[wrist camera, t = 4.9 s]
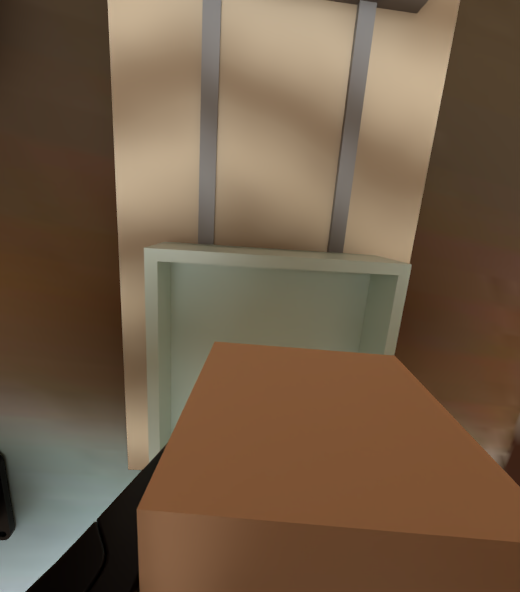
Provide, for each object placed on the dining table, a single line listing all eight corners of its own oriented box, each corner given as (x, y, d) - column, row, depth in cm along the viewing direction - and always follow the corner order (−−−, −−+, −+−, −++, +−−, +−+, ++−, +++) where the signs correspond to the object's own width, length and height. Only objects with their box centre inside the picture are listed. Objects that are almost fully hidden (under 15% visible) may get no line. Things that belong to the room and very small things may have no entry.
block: (366, 500, 9) (470, 798, 5) (209, 487, 9) (145, 765, 5) (394, 355, 8) (577, 547, 3) (214, 341, 8) (136, 509, 3)
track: (365, 458, 21) (392, 508, 17) (132, 459, 20) (108, 514, 16) (450, 0, 15) (522, -73, 11) (112, -51, 13) (64, -157, 9)
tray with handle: (340, 443, 19) (422, 617, 11) (167, 443, 18) (109, 636, 10) (370, 254, 16) (515, 289, 8) (166, 241, 15) (81, 265, 7)
